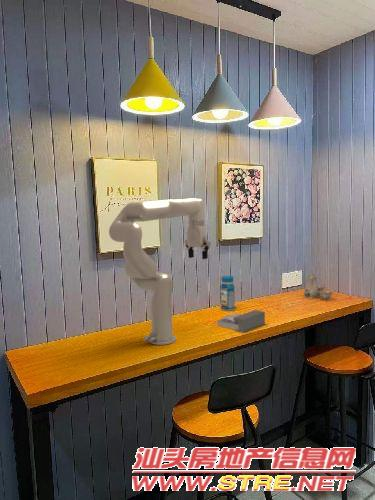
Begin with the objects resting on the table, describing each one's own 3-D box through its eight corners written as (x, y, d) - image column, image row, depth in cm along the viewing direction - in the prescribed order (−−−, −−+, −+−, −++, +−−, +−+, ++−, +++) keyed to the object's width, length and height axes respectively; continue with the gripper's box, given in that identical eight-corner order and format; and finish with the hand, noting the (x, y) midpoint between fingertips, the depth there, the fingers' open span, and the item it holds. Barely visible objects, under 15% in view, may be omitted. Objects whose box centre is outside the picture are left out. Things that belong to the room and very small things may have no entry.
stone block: (218, 328, 194) (235, 327, 188) (216, 319, 194) (233, 317, 188) (228, 323, 204) (245, 321, 198) (226, 314, 204) (243, 312, 198)
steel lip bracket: (243, 332, 179) (243, 319, 178) (216, 325, 192) (215, 313, 191) (264, 324, 191) (264, 312, 191) (237, 318, 204) (237, 306, 203)
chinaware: (336, 303, 234) (339, 277, 233) (310, 302, 234) (313, 276, 233) (320, 294, 262) (322, 271, 261) (296, 292, 262) (299, 269, 260)
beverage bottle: (234, 311, 218) (233, 277, 216) (220, 311, 220) (219, 277, 218) (235, 307, 226) (235, 275, 224) (221, 307, 228) (221, 275, 226)
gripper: (179, 224, 188) (180, 258, 190) (203, 224, 176) (205, 260, 178) (189, 223, 193) (191, 256, 195) (214, 223, 181) (215, 258, 183)
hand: (198, 258), depth 186 cm, fingers open, 9 cm apart
